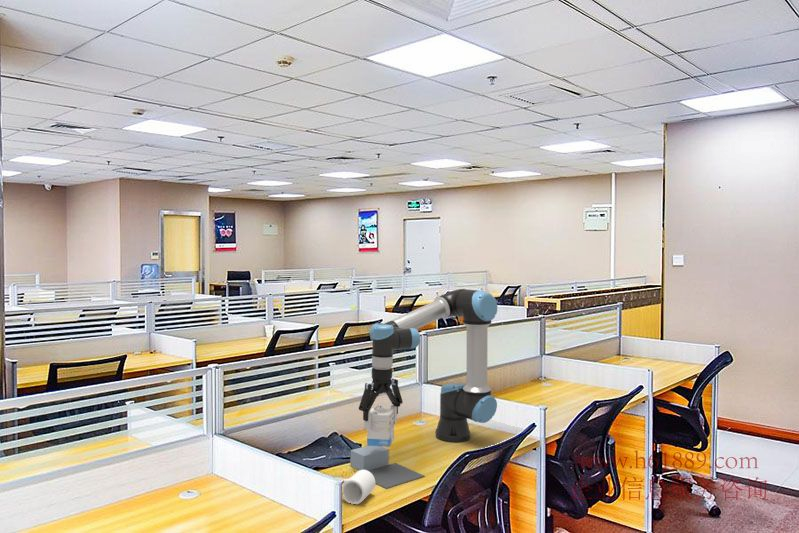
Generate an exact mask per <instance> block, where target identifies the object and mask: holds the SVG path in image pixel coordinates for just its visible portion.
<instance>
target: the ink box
mask: <svg viewBox="0 0 799 533" xmlns="http://www.w3.org/2000/svg"><path fill="white" fill-rule="evenodd" d="M369 412H371V430H366V440H367V441H366V444H367V445H366V446H382V447H384V448H388V447H389V448H390V447H391V445H392V443H393V442H394V440H395V424H394V409H391V408H387V407H386V408H384V407H383V406H382V405H381V403H378V404H377V405H376V406H375V407H371V409H370V411H369Z"/></svg>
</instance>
